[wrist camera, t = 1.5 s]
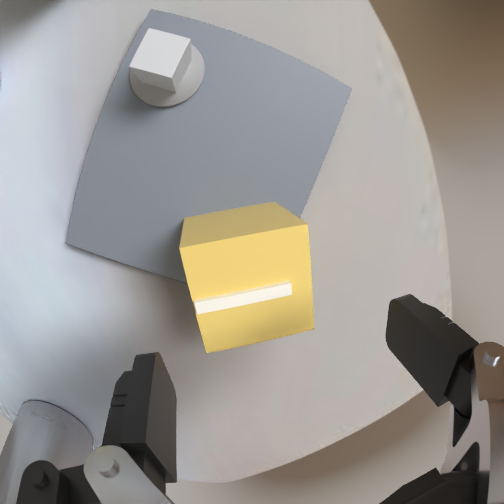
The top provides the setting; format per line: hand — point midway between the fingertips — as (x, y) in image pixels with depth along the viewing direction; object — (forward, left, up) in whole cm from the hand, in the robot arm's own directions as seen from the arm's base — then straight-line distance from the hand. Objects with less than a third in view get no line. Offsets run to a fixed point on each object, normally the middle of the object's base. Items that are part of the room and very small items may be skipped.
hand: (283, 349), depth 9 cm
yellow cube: (0, 0, -10) cm, 10 cm away
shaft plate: (+5, +4, -12) cm, 13 cm away
